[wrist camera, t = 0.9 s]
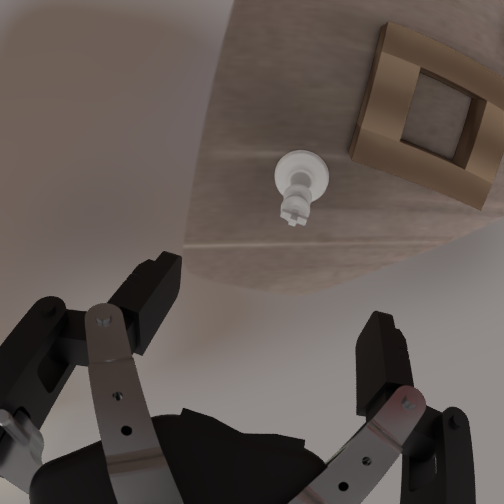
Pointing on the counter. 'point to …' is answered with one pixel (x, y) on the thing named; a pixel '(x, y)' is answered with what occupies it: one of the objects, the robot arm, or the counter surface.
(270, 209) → the counter surface
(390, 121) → the frame
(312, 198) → the chess piece
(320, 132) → the counter surface
